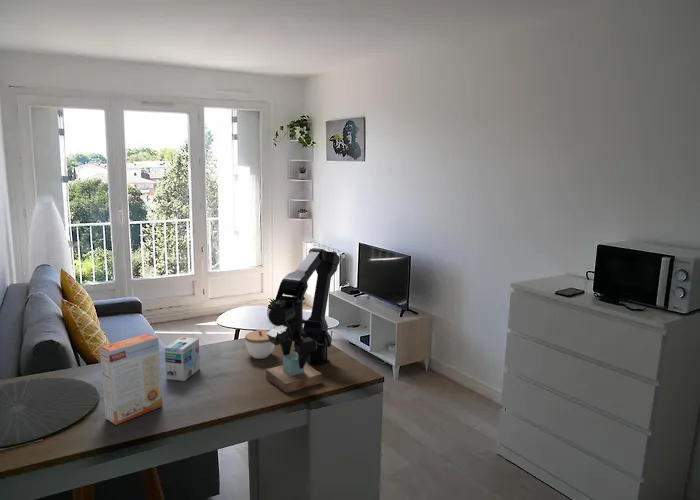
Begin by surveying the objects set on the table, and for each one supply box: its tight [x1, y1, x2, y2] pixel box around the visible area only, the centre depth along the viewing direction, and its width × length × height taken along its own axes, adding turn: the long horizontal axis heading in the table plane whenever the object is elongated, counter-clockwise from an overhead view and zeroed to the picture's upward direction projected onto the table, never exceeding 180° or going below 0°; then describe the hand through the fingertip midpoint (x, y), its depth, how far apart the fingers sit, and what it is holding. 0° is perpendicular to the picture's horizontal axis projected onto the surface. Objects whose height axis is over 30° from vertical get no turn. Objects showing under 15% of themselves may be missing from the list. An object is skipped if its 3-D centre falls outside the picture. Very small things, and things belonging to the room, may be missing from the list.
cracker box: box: [99, 333, 163, 426], centre depth 141 cm, size 14×6×21 cm, turn 140°
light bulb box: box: [164, 336, 201, 382], centre depth 168 cm, size 11×7×11 cm, turn 168°
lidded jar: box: [244, 329, 276, 359], centre depth 185 cm, size 11×11×9 cm
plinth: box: [265, 363, 323, 394], centre depth 165 cm, size 13×13×3 cm
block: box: [282, 352, 304, 376], centre depth 164 cm, size 5×5×5 cm
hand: (293, 363), depth 164 cm, fingers open, 9 cm apart
